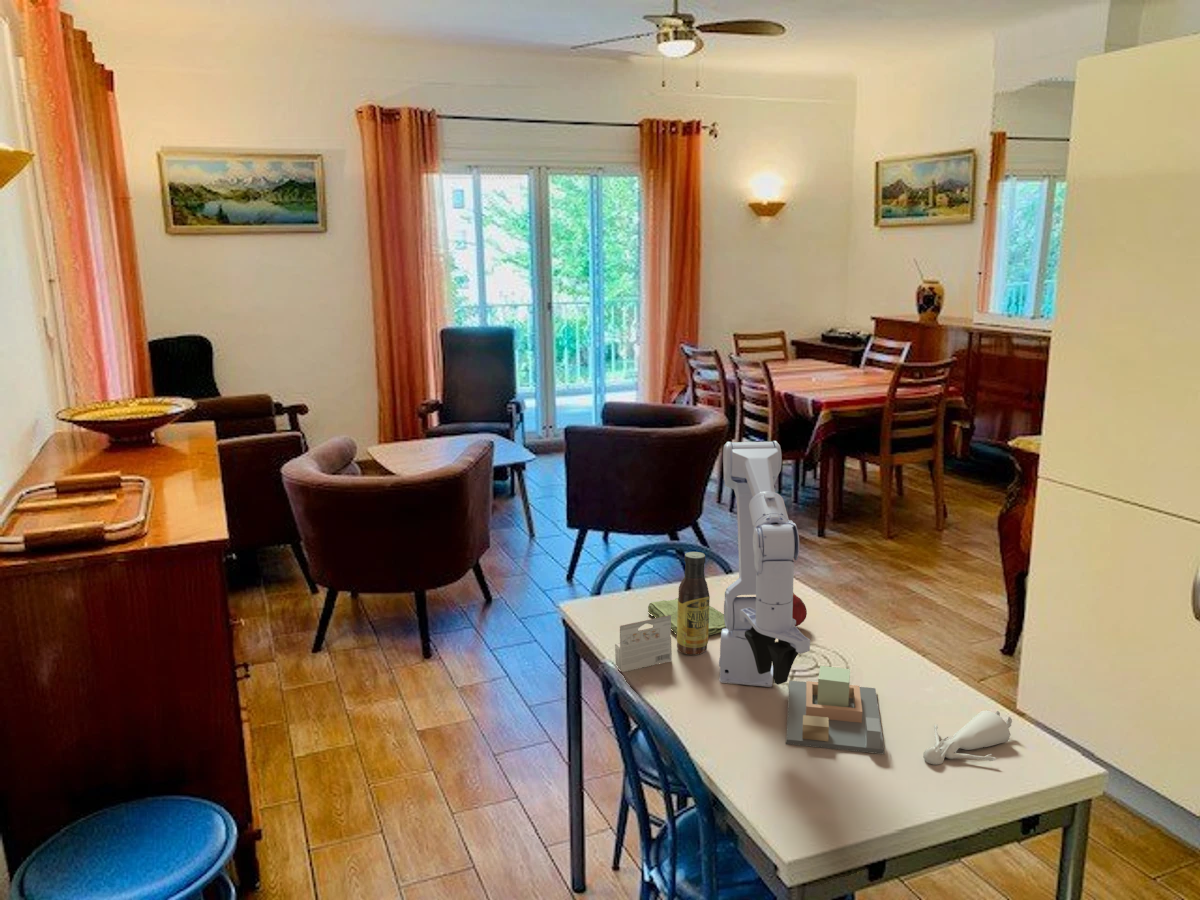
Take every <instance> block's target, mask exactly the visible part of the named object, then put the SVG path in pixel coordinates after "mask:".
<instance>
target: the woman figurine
mask: <svg viewBox="0 0 1200 900" xmlns="http://www.w3.org/2000/svg"><path fill="white" fill-rule="evenodd" d="M1007 717H1008V719H1007V721H1005V719H1004V718H1003V717H1002V716H1001V713H1000V711H998V710H997V711H996V713H995V712H994V711H990V710H987V709H986V710H981V711H980V712H978V714H976V715H975V716H974V717H973V718H971V719H970V720H969V721H968V722H967V723H965V725H964V726H962V728H960V729H959V730H957V731H956V732H955V733H954V734H953V735H952V738H949V736H944V737H943V739H941V740H940V736H939V734H938V728H939V723H937V725H936V724H934V725H933V728H934V740H935V743H934V746H932V747H929V748H926V749H925V750H924V752H923V756H922V757H923V759H924V761H925V762H926V763H928V764H929V765H941V764H943V763H944V759H945V758H947V759H950V760H953V759H970V760H971V759H973V760H984V761H989V762H993V761H996V760H997V757H995V756H993V754H992V753H990V754H987V755H985V756H982V755H974V754H969V753H957V751H958V750H959V749H961V750H964V751H965V750H968V751H971V750H977V749H983V747H984V748H988V747H991V746H996V745H1000V744H1003V743H1008V742H1009V740H1010V737H1011V731H1010V727H1012V722H1013V718H1012V717H1010V716H1007ZM948 738H949V739H948Z"/></svg>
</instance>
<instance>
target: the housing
mask: <svg viewBox="0 0 1200 900" xmlns="http://www.w3.org/2000/svg"><path fill="white" fill-rule="evenodd" d="M788 682H789V683H788V698H787V699H788V700H787V719H786V723H787V724H786V741H785V744H786V745H795V746H804V747H814V748H823V749H832V750H840V751H851V752H861V753H862V752H863V753H868V754H869V753H870V754H881V755H885V744H884V743H885V742H884V738H883V732H882V731H883V730H882V724H881V717H880V711H879V705H878V703H879V702H878V698H877V697H878V696H877V690H876V688H875V687H869V686H868V687H867V686H860V685H858V684H857V685H856V684H849V704H848V707H838V706H828V705H817V700H818V681H809V680H806V681H797V680H789V681H788ZM803 715H808V716H818V717H828V718H829V735H828V741H819V740H810V739H802V737H803Z"/></svg>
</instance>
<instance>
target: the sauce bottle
mask: <svg viewBox="0 0 1200 900" xmlns="http://www.w3.org/2000/svg"><path fill="white" fill-rule="evenodd" d="M683 561H684V562H685V568H684V577H683V579H682V580H681V582H680V584H679V586H678V597H677V598H678V612H677V634H676V648H677V651H678V652H680V653H682V654H683V655H689V656H691V655H692V656H698V655H701V654H703V653H705V652H706V651H707V650H708V644H709V636H708V629H709V606H710V597H711V596H710V592H709V587H708V582H707V581H706V578H705V564H706V555H705V553H703V552H700V551H699V552H698V551H689V552H686V553H685V554H684V560H683Z"/></svg>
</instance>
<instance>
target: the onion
mask: <svg viewBox="0 0 1200 900" xmlns="http://www.w3.org/2000/svg"><path fill="white" fill-rule="evenodd" d="M807 614H808V613H807V606H806V604H805V602H803V599H802V598H800V597H799V596H797V595H796V594H795V592H794V591H793V614H792V618H793V619H795V620H796V625H795V626H796V627H799V626H800V625H801V624H802V623H803V622H805V620H806V619H807Z"/></svg>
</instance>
